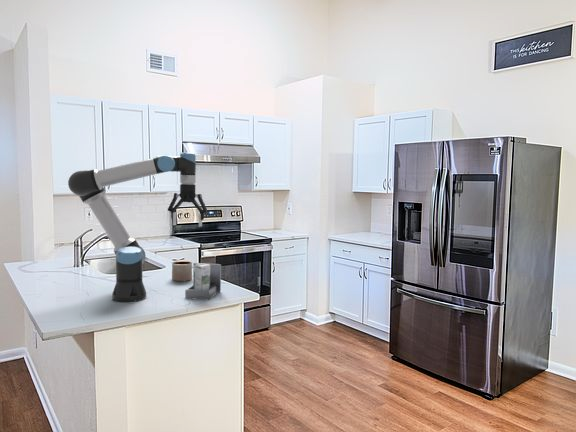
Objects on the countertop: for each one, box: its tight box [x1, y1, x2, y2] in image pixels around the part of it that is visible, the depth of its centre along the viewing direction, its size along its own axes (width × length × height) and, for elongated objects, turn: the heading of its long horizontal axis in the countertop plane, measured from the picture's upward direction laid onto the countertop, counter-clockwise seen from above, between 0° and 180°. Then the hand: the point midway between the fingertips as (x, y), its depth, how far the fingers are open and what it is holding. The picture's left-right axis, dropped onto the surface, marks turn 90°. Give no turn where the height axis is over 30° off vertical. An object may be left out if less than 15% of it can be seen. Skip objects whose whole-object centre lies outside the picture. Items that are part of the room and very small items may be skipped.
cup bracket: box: [184, 262, 222, 301], centre depth 224 cm, size 14×15×14 cm
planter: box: [171, 260, 193, 283], centre depth 254 cm, size 11×11×10 cm
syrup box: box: [192, 262, 210, 291], centre depth 222 cm, size 6×6×14 cm
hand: (187, 225), depth 231 cm, fingers open, 13 cm apart
